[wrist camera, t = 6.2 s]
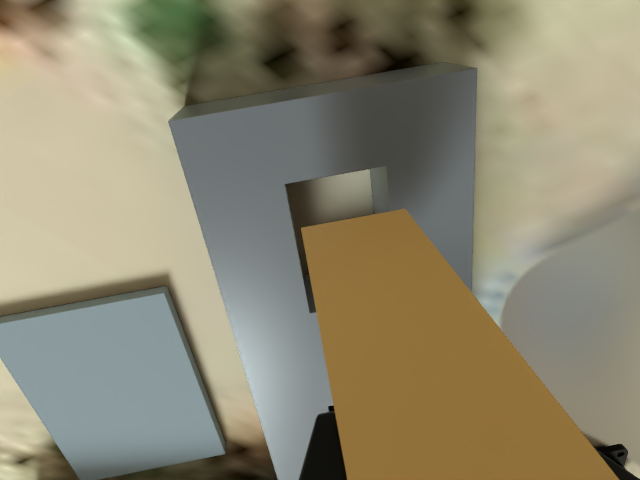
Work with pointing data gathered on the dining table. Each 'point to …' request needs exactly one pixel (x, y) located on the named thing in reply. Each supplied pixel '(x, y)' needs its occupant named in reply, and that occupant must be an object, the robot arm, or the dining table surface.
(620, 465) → the robot arm
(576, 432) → the tan rectangular block
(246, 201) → the header
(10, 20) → the dining table surface
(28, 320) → the slate mat
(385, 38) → the dining table surface
